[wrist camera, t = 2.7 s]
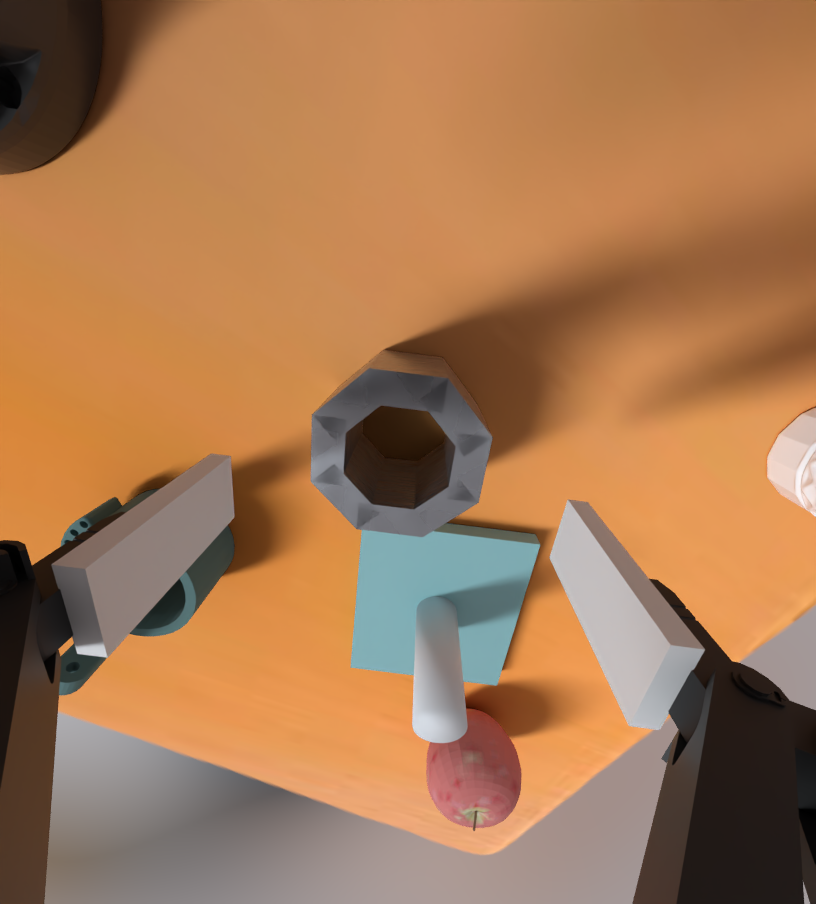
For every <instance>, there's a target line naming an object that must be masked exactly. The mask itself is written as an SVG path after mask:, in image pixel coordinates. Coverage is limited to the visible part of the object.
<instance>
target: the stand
mask: <svg viewBox="0 0 816 904" xmlns="http://www.w3.org/2000/svg"><path fill="white" fill-rule="evenodd" d="M539 548H540V543H539V541H538V538H537V536H536V534H530V533H522V532H514V531H506V530H498V529H490V528H482V527H474V526H466V525H458V524H450V523H445V524H443V525H442V526H440V527H439V528H437V529H435V530H434V531H432V532H431V533H429V534H427V535H426V536H424V537H416V536H408V535H400V534H392V533H384V532H376V531H368V530H362V535H361V547H360V560H359V572H358V584H357V596H356V608H355V620H354V633H353V645H352V657H351V668H359V669H367V670H375V671H383V672H391V673H399V674H407V675H414V690H413V721H412V726H413V730H414V732H415V733H416V734H417V735H418V736H419V737H420V738H422V739H424V740H426V741H429V742H433V743H449V742H453V741H456V740H458V739H459V738H461V737H462V736H463V735H464V734H465V733H466V731H467V727H468V726H467V715H466V704H465V694H464V683H463V681H464V682H472V683H480V684H488V685H496V686H497V684H498V681H499V677H500V674H501V671H502V668H503V664H504V661H505V658H506V655H507V651H508V648H509V645H510V642H511V638H512V635H513V632H514V629H515V625H516V622H517V619H518V616H519V612H520V609H521V606H522V603H523V599H524V596H525V593H526V590H527V586H528V583H529V580H530V577H531V573H532V570H533V567H534V564H535V561H536V557H537V554H538V551H539Z"/></svg>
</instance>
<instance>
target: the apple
mask: <svg viewBox="0 0 816 904" xmlns="http://www.w3.org/2000/svg"><path fill="white" fill-rule="evenodd" d="M466 715H467V726H468V727H467V731H466V733H465V734H464V735H463V736H462V737H461V738H459V739H458V740H456V741H453V742H449V743H433V742H430V745H429V748H428V753H427V784H428V789H429V793H430V795H431V798H432V800H433V802H434V803H435V805H436V807H437V809H438V810H439V811H440V812H441V813H442V814H443V815H444V816H445V817H446V818H447V819H449V820H450V821H452V822H454V823H456V824H459V825H462V826H466V827H473V831H475V828H483V827H490V826H493V825H496V824H498V823H500V822H502V821H503V820H505V819H506V818H507V817H508V816H509V815H510V813H511V812H512V811H513V809H514V808H515V806H516V803H517V801H518V798H519V795H520V791H521V767H520V763H519V759H518V755H517V752H516V749H515V747H514V745H513V743H512V741H511V740H510V738H509V737H508V735H507V734H506V732H505V731H504V730H503V728H502V727H501V726H500V725H499V723H498V722H497V721H495V720H494V719H493V718H492V717H491V716H489V715H488V714H486V713H484V712H482V711H480V710H476V709H466Z"/></svg>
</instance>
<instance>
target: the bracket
mask: <svg viewBox="0 0 816 904" xmlns="http://www.w3.org/2000/svg"><path fill="white" fill-rule="evenodd" d="M158 490H159V489H153V490H150V491H146V492H144V493H142V494H140V495H138V496H136V497H135V498H133V499H132V500H130V501H129V502H127V503H126V504H125V505H123V506H122V505H121V503H120V502H119V500H118V499H117V498H116V497H114V498H112V499H110V500H108V501H106V502H105V503H103V504H102V505H100V506H99V507H97V508H95V509H94V510H92V511H91V512H89V513H88V514H86V515H85V516H83V517H81V518H80V519H78V520H77V521H75V522H74V523H73V524H72V525H71V526H70V527H69V528H68V529H67V531H66V532H65V534H64V536H63V539H62V541H61V546H63V545H64V544H66V543H67V542H69V541H73V538H75V537H76V536H78V535H79V534H81V533H82V532H86V530H87V529H88V528H90V527H91V526H93V525H94V524H96V523H97V522H99V521H100V520H102V519H104V518H107V517H109V516H112V515H114V514H117V513H119V512H128V511H129V510H131V509H132V508H133V507H135V506H136V505H138V504H139V503H141V502H142V501H144V500H145V499H146V498H148V497H149V496H151V495H152V494H154V493H155V492H157V491H158ZM234 546H235V545H234V539H233V535H232V533H231V530H230V528H229V526H228V525H227V526H226V527H225V528H224V529H223V531H222V532H221V533H220V534H219V535H218V536H217V537H216V538H215V539H214V541H213V542H212V543H211V544H210V545H209V546H208V547H207V548H206V549H205V550H204V552H203V553H202V554H201V555H200V556H199V557H198V558H197V559H196V560H195V562H194V563H193V564H192V565H191V566H190V567H189V568H188V569H187V570H186V571H185V573H184V574H183V575H182V576H181V577H180V578H179V579H178V580H177V581H176V583H175V584H174V585H173V586H172V587H171V588H170V589H169V590H168V591H167V592H166V594H165V595H164V596H163V597H162V598H161V599H160V600H159V601H158V602H157V604H156V605H155V606H154V607H153V608H152V609H151V610H150V611H149V612H148V613H147V615H146V616H145V617H144V618H143V619H142V620H141V621H140V622H139V623H138V625H137V626H136V627H135V628H134V629H133V630H132V631H131V632H130V633H129V634H132V635H139V636H160V635H166V634H169V633H172V632H175V631H177V630H178V629H180V628H182V627H183V626H184V625H185V624H187V622H188V621H189V620H190V619H191V617H192V616H193V614H194V613H195V612H196V610H197V609H198V608H199V606H200V605H201V604H202V602H203V601H204V600H205V598H206V597H207V595H208V594H209V593H210V591H211V590H212V589H213V587H214V586H215V585H216V583H217V582H218V580H219V579H220V578H221V576H222V575H223V574H224V572H225V571H226V570H227V568H228V567H229V565H230V563H231V562H232V559H233V556H234ZM105 659H106V657H99V656H91V655H83V654H77V651H76V648H75V644H73V645H72V646H71V647H70V648H69V649H68V650H67V651H66V652H65V653H64V654H63V655H62V656H61V671H60V686H59V695H68V694H71V693H73V692H75V691H77V690H78V689H79V688H81V687H82V686H83V684H84V683H85V682H86V681H87V680H88V679H89V678H90V676H91V675H92V674H93V673H94V672H95V671H96V670H97V669H98V667H99V666H100V665H101V664H102V663H103V662H104V661H105Z"/></svg>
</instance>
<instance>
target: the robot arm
mask: <svg viewBox="0 0 816 904" xmlns="http://www.w3.org/2000/svg"><path fill="white" fill-rule="evenodd" d="M101 55H102V11H101V0H0V175H4V174H13V173H18V172H23V171H26V170H29V169H32V168H35V167H37V166H39V165H41V164H43V163H45V162H46V161H48V160H50V159H51V158H53V157H54V156H55V155H56V154H58V153H59V152H60V151H61V150H62V149H63V148H64V147H65V146H66V145H67V144H68V143H69V142H70V141H71V139H72V138H73V137H74V135H75V134H76V133H77V131H78V130H79V128H80V126H81V124H82V123H83V121H84V119H85V117H86V115H87V112H88V110H89V108H90V105H91V102H92V99H93V97H94V93H95V89H96V86H97V81H98V76H99V71H100V63H101ZM234 517H235V515H234V500H233V484H232V469H231V456H226V455H218V454H210V455H208V456H207V457H206V458H204V459H203V460H201V461H200V462H198V463H197V464H195V465H194V466H193V467H191V468H190V469H188V470H187V471H185V472H184V473H182V474H181V475H180V476H178V477H177V478H175V479H174V480H172V481H171V482H169V483H168V484H167V485H165V486H164V487H162V488H161V489H159V490H158V491H157V492H155V493H154V494H152V495H151V496H149V497H148V498H146V499H145V500H144V501H142V502H141V503H139V504H138V505H136V506H135V507H133V508H132V509H131V510H129V511H128V512H119V513H117V514H114V515H112V516H109V517H107V518H104V519H102V520H100V521H99V522H97V523H96V524H94V525H93V526H91V527H90V528H88V529H87V530H86V532H82V533H81V534H79V535H78V536H76V537H75V538H73V541H69V542H67V543H66V544H64V545H63V546H61V547H60V548H58V549H57V550H55V551H54V552H52V553H51V554H49V555H48V556H46V557H45V558H43V559H41V560H40V561H38V562H37V563H35V564H34V565H31V562H30V559H29V555H28V552H27V549H26V546H25V544H23V543H21V542H19V541H9V540H3V541H0V904H44V899H45V898H44V897H45V885H46V870H47V856H48V842H49V828H50V814H51V799H52V785H53V771H54V770H53V769H54V756H55V742H56V727H57V714H58V700H59V686H60V671H61V657H60V653H59V650H58V649H59V648H60V647H61V646H62V645H63V644H64V643H65V642H66V641H68V640H69V639H70V638H71V637H73V641H74V644H75V648H76V651H77V654H83V655H91V656H99V657H106V658H108V657H109V656H110V654H111V653H112V652H113V651H114V650H115V649H116V648H117V647H118V646H119V644H120V643H121V642H122V641H123V640H124V639H125V638H126V637H127V636H128V634H129V633H130V632H131V631H132V630H133V629H134V628H135V627H136V626H137V625H138V623H139V622H140V621H141V620H142V619H143V618H144V617H145V616H146V615H147V613H148V612H149V611H150V610H151V609H152V608H153V607H154V606H155V605H156V604H157V602H158V601H159V600H160V599H161V598H162V597H163V596H164V595H165V594H166V592H167V591H168V590H169V589H170V588H171V587H172V586H173V585H174V584H175V583H176V581H177V580H178V579H179V578H180V577H181V576H182V575H183V574H184V573H185V571H186V570H187V569H188V568H189V567H190V566H191V565H192V564H193V563H194V562H195V560H196V559H197V558H198V557H199V556H200V555H201V554H202V553H203V552H204V550H205V549H206V548H207V547H208V546H209V545H210V544H211V543H212V542H213V541H214V539H215V538H216V537H217V536H218V535H219V534H220V533H221V532H222V531H223V529H224V528H225V527H226V526H227V525H228V524H229V523H230V522H231V521H232V520H233V518H234ZM550 560H551V562H552V564H553V566H554V569H555V571H556V573H557V575H558V577H559V579H560V581H561V583H562V585H563V588H564V590H565V592H566V594H567V596H568V598H569V600H570V602H571V604H572V607H573V609H574V611H575V613H576V615H577V617H578V619H579V621H580V624H581V626H582V628H583V630H584V632H585V634H586V636H587V638H588V640H589V643H590V645H591V647H592V649H593V651H594V653H595V655H596V657H597V659H598V662H599V664H600V666H601V668H602V670H603V672H604V674H605V676H606V678H607V681H608V683H609V685H610V687H611V689H612V691H613V693H614V695H615V697H616V700H617V702H618V704H619V706H620V708H621V710H622V712H623V714H624V717H625V719H626V721H627V723H628V725H629V726H633V727H640V728H648V729H656V730H660V728H661V727H662V725H663V723H664V721H665V720H666V718H667V716H668V714H670V716H671V717H672V719H673V721H674V722H675V724H676V726H677V728H678V729H679V730H678V732H677V734H676V735H675V737H674V739H673V740H672V742H671V744H670V745H669V747H668V749H667V750H666V752H665V754H664V755H663V757H662V760H664V761H665V762H667V766H666V770H665V774H664V778H663V783H662V787H661V790H660V794H659V799H658V803H657V807H656V811H655V815H654V819H653V823H652V827H651V831H650V835H649V839H648V843H647V847H646V851H645V855H644V859H643V863H642V867H641V871H640V876H639V880H638V884H637V888H636V892H635V896H634V900H633V904H804V893H803V882H804V885H805V888H806V891H807V894H808V898H809V901H810V904H816V710H813V709H810V708H808V707H805V706H803V705H800V704H797V703H794V702H792V701H789V699H788V698H787V697H786V696H785V694H784V693H783V692H782V691H781V689H780V688H779V687H777V686H776V685H775V684H774V683H773V682H772V681H770V680H769V679H768V678H767V677H765V676H764V675H762V674H760V673H759V672H757V671H756V670H754V669H752V668H750V667H747V666H745V665H743V664H741V663H737V662H732V661H731V660H730V658H729V657H728V656H727V655H726V654H725V652H724V651H723V650H722V649H721V648H720V647H719V645H718V644H717V643H716V642H715V641H714V639H713V638H712V637H711V636H710V635H709V634H708V632H707V631H706V630H705V629H704V628H703V626H702V625H701V624H700V623H699V622H698V621H696V620H695V617H694V616H693V615H692V613H691V612H690V611H689V610H688V609H686V608H685V607H686V606H685V605H684V604H683V603H682V602H681V600H680V599H679V598H678V597H677V596H676V594H675V593H674V592H672V591H671V590H670V589H669V588H667V587H666V586H665V585H663V584H662V583H661V582H659V581H658V580H655V579H648V577H647V576H646V575H645V574H644V572H643V571H642V570H641V569H640V567H639V566H638V565H637V563H636V562H635V561H634V560H633V558H632V557H631V556H630V555H629V553H628V552H627V551H626V550H625V548H624V547H623V546H622V545H621V543H620V542H619V541H618V540H617V538H616V537H615V536H614V535H613V533H612V532H611V531H610V530H609V528H608V527H607V526H606V525H605V523H604V522H603V521H602V520H601V518H600V517H599V516H598V515H597V513H596V512H595V511H594V510H593V508H592V507H591V506H590V504H589V503H588V502H583V501H575V500H568V501H567V504H566V507H565V510H564V513H563V517H562V520H561V523H560V526H559V529H558V532H557V536H556V539H555V542H554V545H553V548H552V551H551V555H550Z"/></svg>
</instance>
